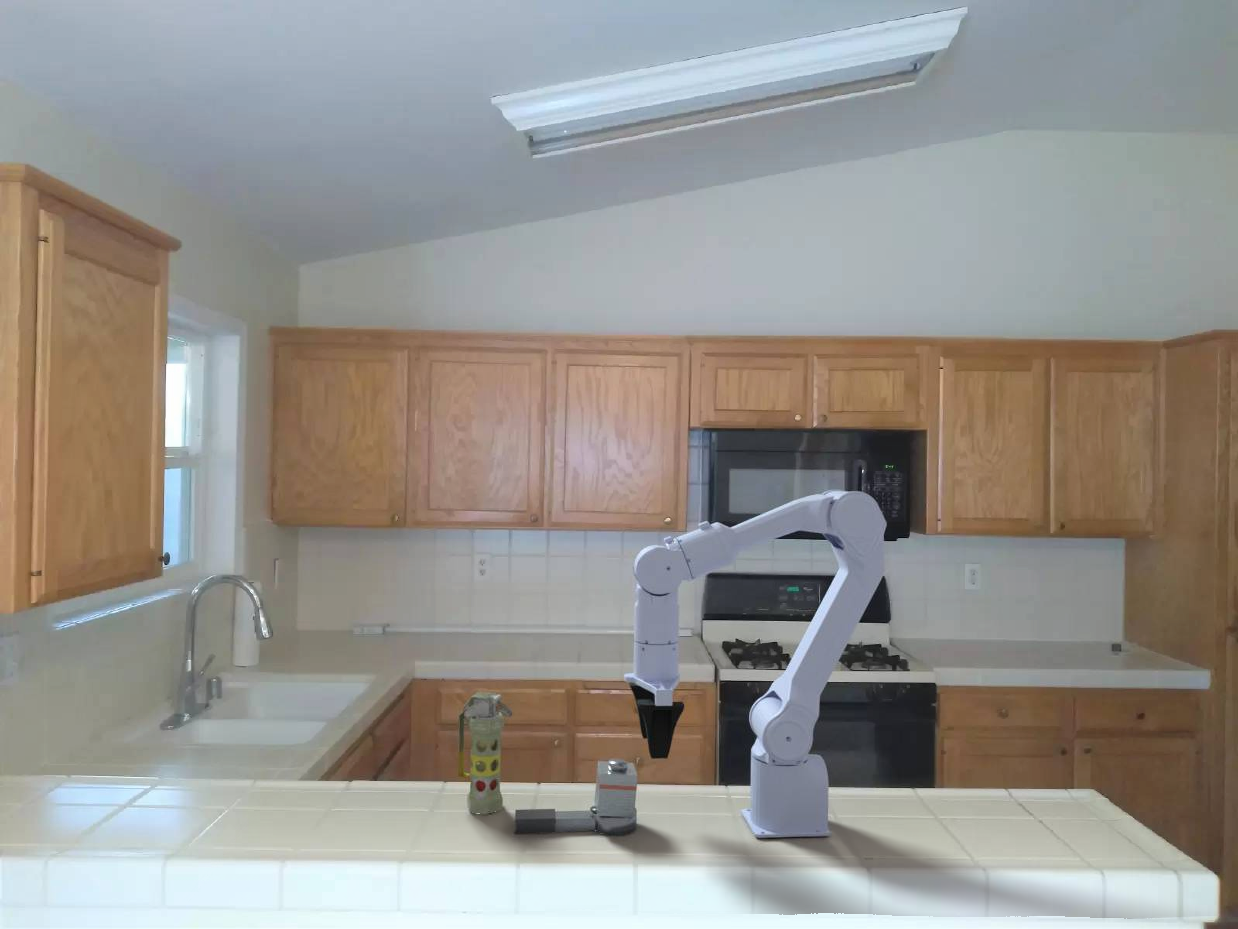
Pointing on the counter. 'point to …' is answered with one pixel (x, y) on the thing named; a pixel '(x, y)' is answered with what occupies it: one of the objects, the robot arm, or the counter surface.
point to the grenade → (483, 751)
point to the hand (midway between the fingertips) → (654, 747)
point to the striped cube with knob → (615, 788)
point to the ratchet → (571, 822)
